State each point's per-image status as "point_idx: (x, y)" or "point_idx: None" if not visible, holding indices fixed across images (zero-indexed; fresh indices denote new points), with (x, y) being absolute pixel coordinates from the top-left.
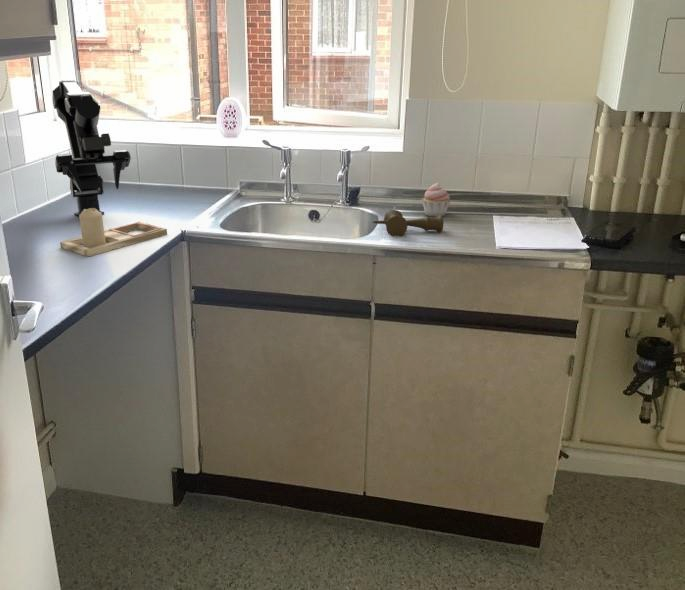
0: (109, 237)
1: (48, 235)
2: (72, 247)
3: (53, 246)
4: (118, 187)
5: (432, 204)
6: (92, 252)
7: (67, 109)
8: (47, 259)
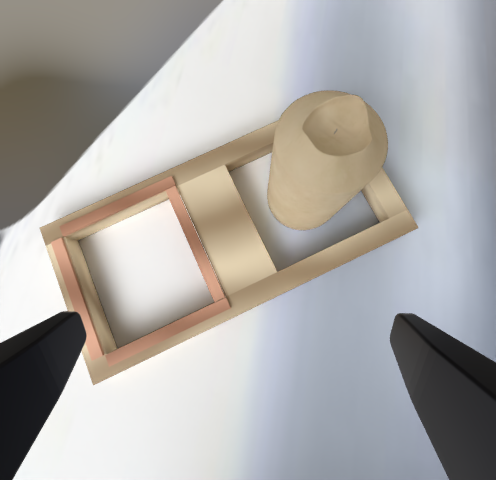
0: (248, 213)
1: None
2: None
3: (429, 259)
4: (63, 313)
5: None
6: None
7: None
8: (448, 130)
